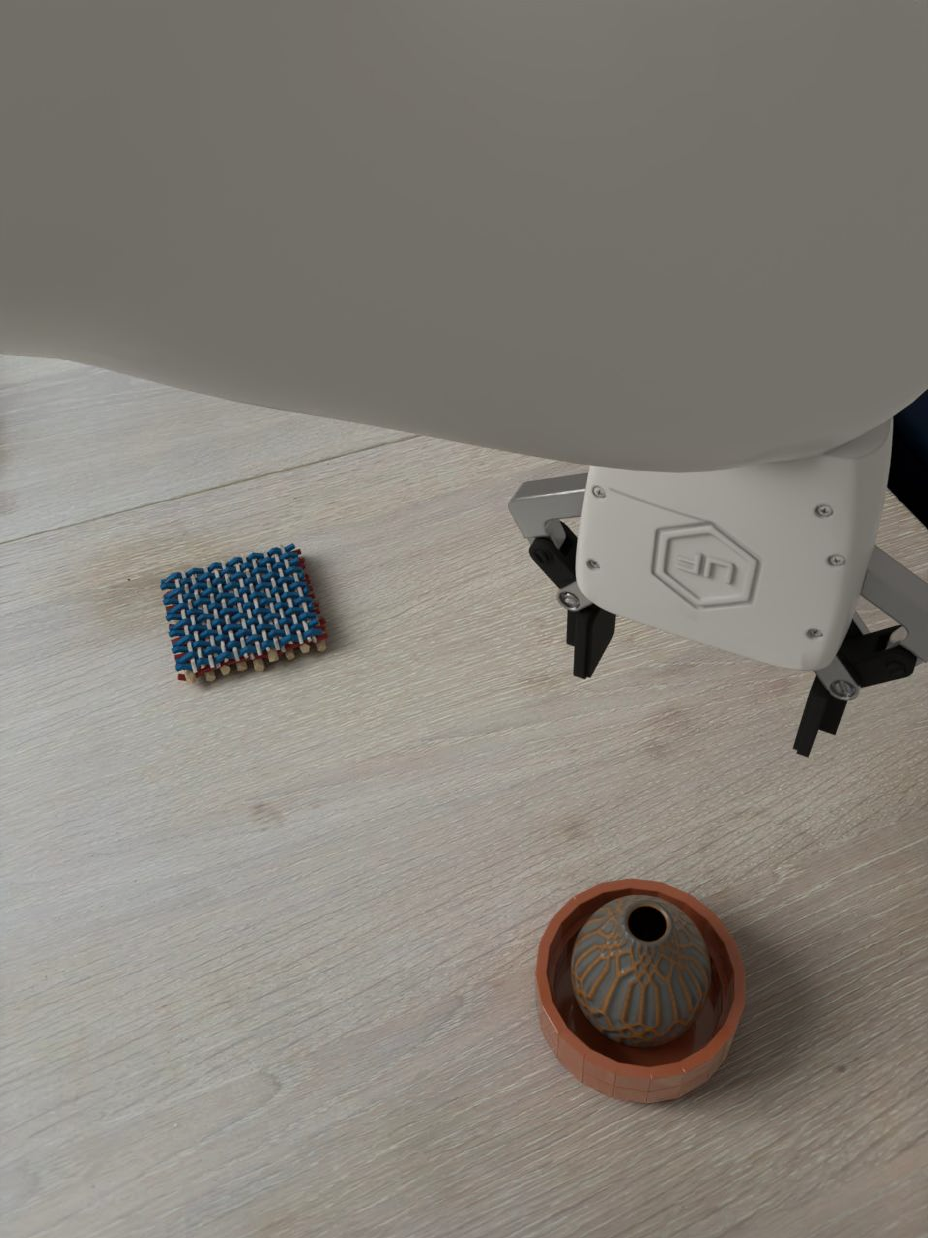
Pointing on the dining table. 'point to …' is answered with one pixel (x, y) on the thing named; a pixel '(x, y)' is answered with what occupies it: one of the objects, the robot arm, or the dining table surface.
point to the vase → (640, 971)
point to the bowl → (623, 1066)
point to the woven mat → (241, 613)
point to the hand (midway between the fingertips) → (698, 691)
